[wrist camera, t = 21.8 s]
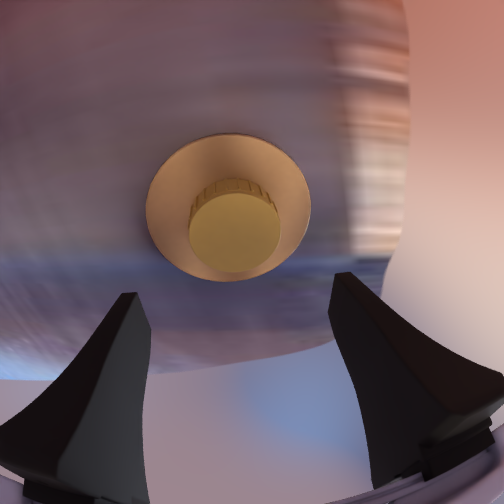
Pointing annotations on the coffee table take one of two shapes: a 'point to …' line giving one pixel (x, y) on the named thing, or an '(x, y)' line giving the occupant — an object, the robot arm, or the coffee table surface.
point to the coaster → (214, 170)
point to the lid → (234, 225)
